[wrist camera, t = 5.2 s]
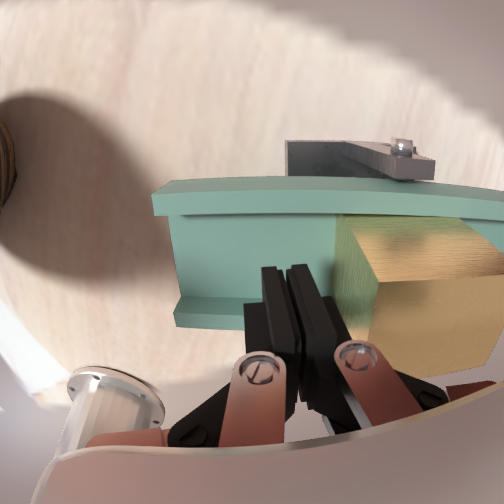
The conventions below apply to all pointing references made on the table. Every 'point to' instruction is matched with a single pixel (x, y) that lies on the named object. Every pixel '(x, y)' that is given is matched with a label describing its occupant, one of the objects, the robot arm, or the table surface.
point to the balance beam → (287, 231)
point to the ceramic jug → (6, 165)
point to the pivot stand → (357, 159)
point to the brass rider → (419, 290)
